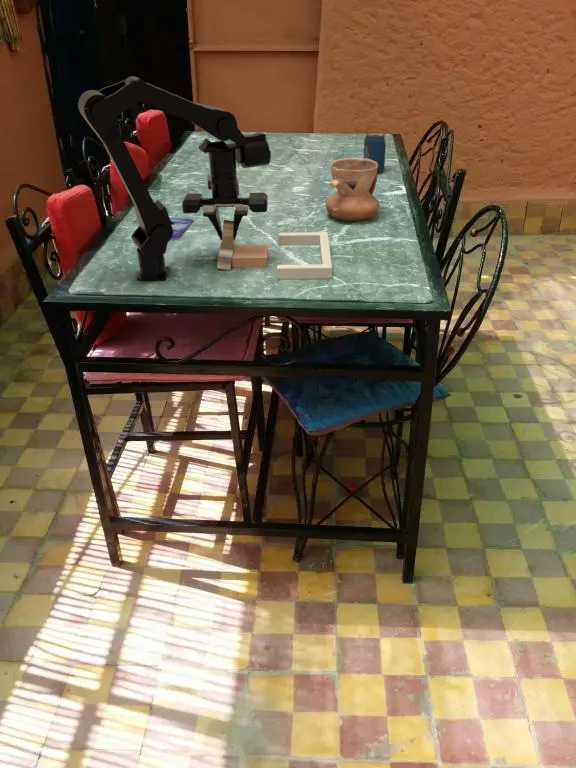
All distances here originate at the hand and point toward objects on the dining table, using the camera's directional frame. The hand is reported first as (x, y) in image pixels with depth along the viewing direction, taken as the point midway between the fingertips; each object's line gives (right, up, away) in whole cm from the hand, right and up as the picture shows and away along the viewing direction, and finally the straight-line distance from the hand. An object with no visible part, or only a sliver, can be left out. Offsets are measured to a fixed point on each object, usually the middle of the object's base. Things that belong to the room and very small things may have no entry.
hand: (228, 239), depth 147 cm
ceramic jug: (+32, +12, +27) cm, 44 cm away
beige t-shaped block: (-1, -4, +3) cm, 5 cm away
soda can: (+42, +36, +63) cm, 84 cm away
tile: (+5, -4, +3) cm, 7 cm away
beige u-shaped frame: (+17, -4, +3) cm, 17 cm away
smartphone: (-16, +7, +21) cm, 27 cm away
